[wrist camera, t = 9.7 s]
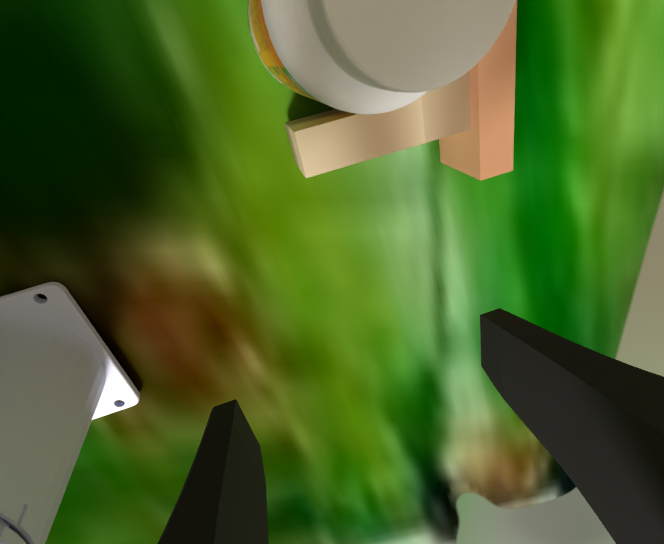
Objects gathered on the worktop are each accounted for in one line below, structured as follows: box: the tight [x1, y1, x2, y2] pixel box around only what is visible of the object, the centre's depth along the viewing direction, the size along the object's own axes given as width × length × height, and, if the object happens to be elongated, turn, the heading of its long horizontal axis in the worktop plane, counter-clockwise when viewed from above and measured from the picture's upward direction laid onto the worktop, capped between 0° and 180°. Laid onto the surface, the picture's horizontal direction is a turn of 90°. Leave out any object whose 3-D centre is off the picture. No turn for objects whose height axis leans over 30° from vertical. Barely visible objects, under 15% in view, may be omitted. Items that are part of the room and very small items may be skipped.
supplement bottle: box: [248, 0, 516, 114], centre depth 11 cm, size 5×5×10 cm
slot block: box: [285, 71, 471, 178], centre depth 14 cm, size 7×10×3 cm
